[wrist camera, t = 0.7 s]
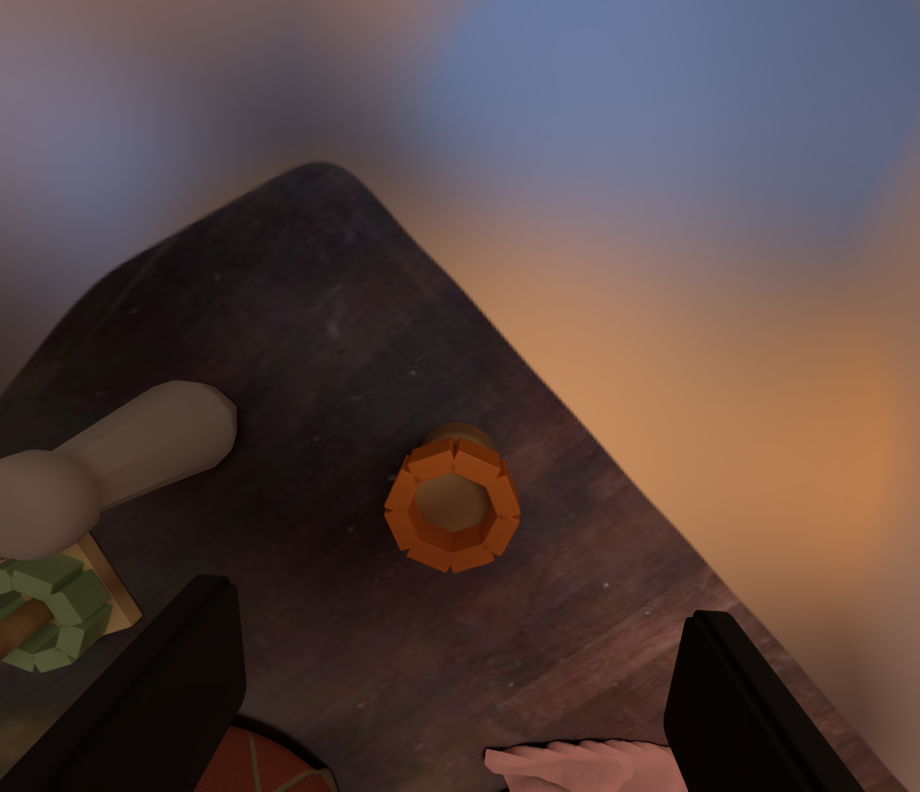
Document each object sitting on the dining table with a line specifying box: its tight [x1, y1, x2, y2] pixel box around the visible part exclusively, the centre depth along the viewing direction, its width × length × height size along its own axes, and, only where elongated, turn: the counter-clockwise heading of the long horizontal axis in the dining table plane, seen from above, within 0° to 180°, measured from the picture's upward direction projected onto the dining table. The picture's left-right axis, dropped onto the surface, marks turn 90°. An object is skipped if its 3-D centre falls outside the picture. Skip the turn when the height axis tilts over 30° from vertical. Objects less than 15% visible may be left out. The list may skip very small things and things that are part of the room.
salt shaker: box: [0, 380, 237, 562], centre depth 22 cm, size 6×6×13 cm
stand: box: [414, 422, 497, 533], centre depth 26 cm, size 5×5×5 cm
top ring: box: [384, 437, 521, 573], centre depth 23 cm, size 7×7×2 cm
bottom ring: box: [0, 552, 113, 673], centre depth 30 cm, size 8×8×2 cm
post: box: [0, 532, 143, 661], centre depth 28 cm, size 8×8×10 cm
